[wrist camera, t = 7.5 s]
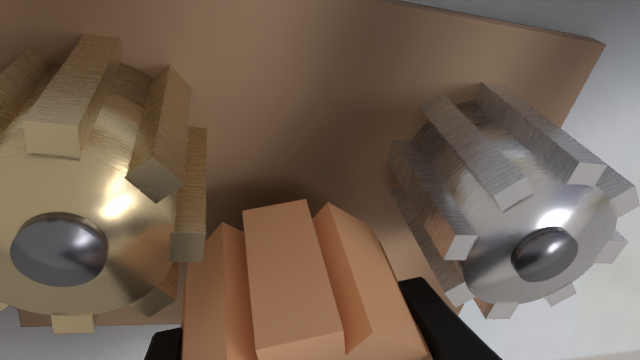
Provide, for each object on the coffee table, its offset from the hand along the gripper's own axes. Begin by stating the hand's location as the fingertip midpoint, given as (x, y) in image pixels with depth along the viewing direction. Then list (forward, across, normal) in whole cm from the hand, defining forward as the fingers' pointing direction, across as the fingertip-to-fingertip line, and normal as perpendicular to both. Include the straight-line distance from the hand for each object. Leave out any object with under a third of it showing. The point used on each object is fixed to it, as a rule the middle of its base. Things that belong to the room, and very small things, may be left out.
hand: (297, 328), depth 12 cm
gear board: (+4, -1, -2) cm, 4 cm away
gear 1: (+4, +4, -5) cm, 7 cm away
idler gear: (+2, 0, 0) cm, 2 cm away
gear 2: (+4, -6, -2) cm, 7 cm away
